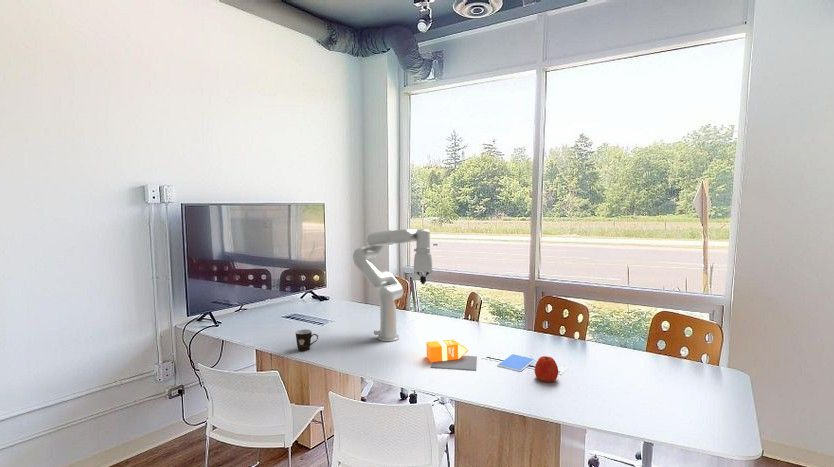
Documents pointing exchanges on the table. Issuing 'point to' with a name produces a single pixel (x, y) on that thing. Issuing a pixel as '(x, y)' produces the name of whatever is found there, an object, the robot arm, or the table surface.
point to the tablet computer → (516, 362)
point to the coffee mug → (304, 339)
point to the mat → (457, 363)
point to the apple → (546, 369)
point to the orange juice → (444, 350)
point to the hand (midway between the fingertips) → (423, 283)
